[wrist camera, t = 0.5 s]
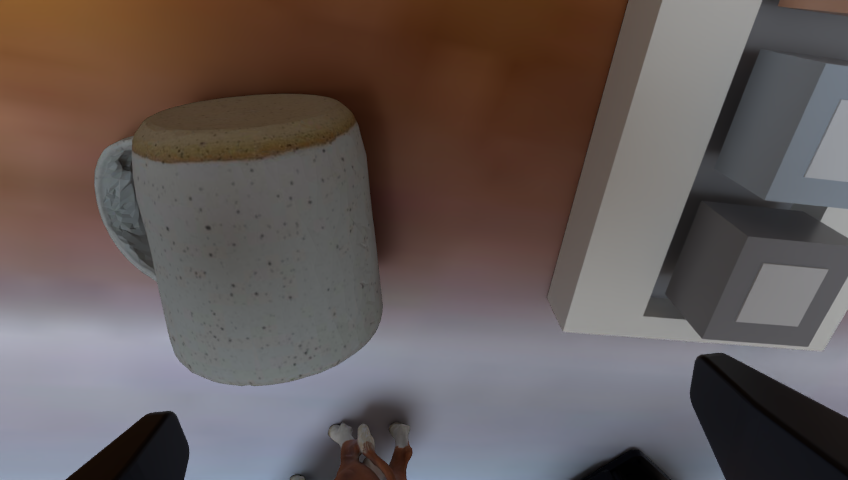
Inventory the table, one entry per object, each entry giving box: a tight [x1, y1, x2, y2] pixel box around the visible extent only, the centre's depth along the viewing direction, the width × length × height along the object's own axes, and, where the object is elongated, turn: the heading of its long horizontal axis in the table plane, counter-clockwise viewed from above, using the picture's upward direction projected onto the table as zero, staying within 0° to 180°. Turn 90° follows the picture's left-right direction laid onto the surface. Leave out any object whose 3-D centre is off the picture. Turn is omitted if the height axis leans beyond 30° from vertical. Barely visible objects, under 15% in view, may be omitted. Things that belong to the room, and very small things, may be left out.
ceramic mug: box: [95, 94, 383, 386], centre depth 18 cm, size 11×8×8 cm
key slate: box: [714, 49, 848, 209], centre depth 17 cm, size 4×4×3 cm
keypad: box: [547, 0, 848, 351], centre depth 18 cm, size 25×12×3 cm, turn 173°
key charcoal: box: [665, 201, 848, 347], centre depth 20 cm, size 4×4×3 cm
